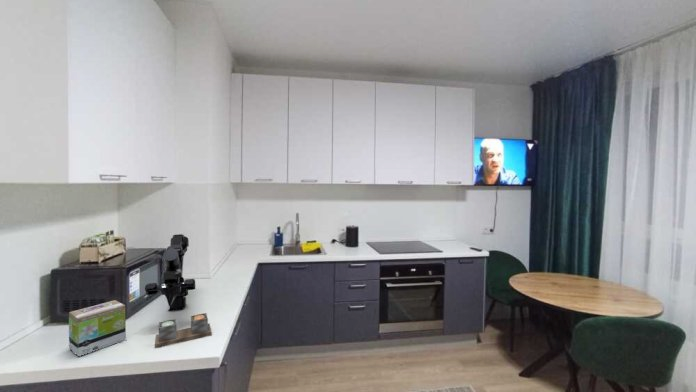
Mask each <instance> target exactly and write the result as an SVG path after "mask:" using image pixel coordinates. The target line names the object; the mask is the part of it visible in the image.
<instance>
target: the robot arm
mask: <svg viewBox="0 0 696 392" xmlns="http://www.w3.org/2000/svg"><path fill="white" fill-rule="evenodd" d="M189 243H190V242H189V238H188V237H187V236H186V235H185V234H183V233H179V234H173V235H172V237H171V238H170V244H169V246H167V247H166V250H164V252H163V255H162V259H163V262H164V265H165V271H163V274H162V275H163V277H162V280H163V281H162V283H163V284H161V285H158V283H157V282H150V283H147V284H146V285H145V286H144V291H145V294H146V295H147V296H152V295H153V296H154V295H157V294H158V292H159V291H160V293H161V296H165V298H166V301H167V304H168V307H169V308H168V311H169V312H172V311H183V310H184V308H185V307H186V306H187V296H188V295H189V291H194V290H196V280H195V278H189V279H188V278H187V279H184V277H183V270H184V268H183V267H184V256H185V254H186V253H187V251H188V247H189V246H190V244H189Z"/></svg>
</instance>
